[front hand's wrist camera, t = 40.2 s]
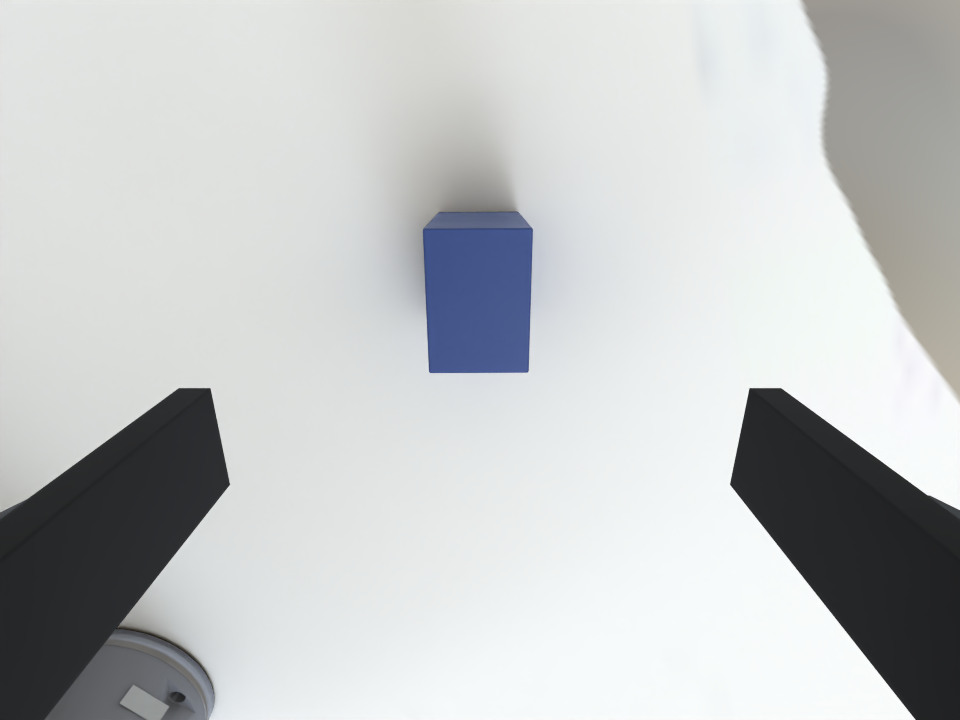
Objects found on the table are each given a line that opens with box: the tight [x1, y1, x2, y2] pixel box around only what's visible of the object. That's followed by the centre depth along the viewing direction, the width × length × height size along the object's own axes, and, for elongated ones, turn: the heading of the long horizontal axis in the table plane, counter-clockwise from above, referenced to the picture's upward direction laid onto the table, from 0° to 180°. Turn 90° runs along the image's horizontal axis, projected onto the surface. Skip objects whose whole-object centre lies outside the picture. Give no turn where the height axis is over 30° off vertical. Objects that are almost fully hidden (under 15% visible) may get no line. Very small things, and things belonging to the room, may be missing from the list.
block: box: [423, 212, 533, 373], centre depth 30 cm, size 7×5×10 cm
